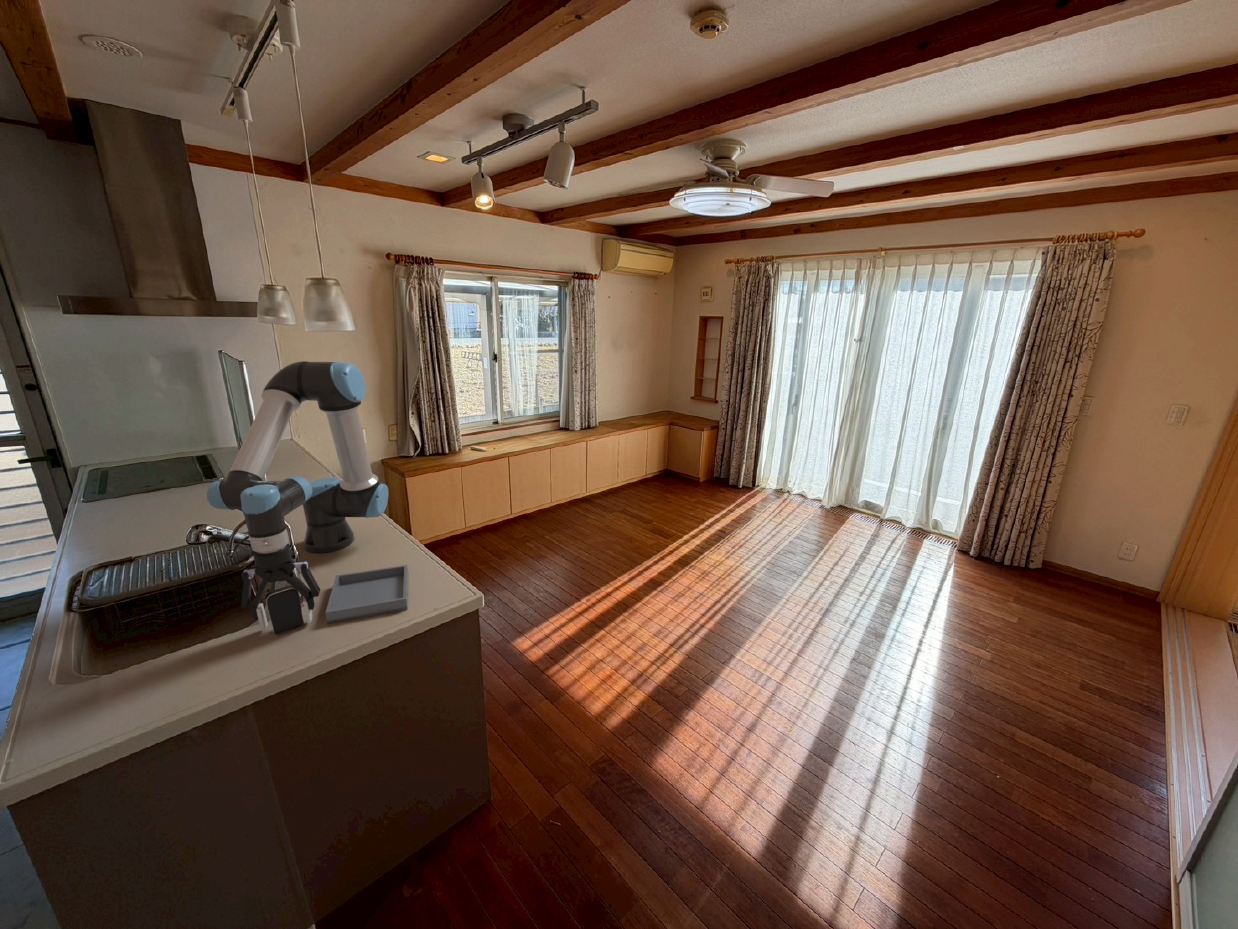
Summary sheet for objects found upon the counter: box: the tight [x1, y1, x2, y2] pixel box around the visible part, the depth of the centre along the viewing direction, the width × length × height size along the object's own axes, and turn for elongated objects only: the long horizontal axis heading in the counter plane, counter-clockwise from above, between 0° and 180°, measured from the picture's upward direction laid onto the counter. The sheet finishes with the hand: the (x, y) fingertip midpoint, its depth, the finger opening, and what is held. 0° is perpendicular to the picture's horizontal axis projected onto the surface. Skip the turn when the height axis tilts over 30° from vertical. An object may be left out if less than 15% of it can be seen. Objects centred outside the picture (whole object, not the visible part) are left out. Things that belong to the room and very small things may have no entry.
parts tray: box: [325, 564, 409, 625], centre depth 140 cm, size 20×20×4 cm
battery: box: [264, 585, 305, 636], centre depth 125 cm, size 7×4×11 cm, turn 135°
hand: (287, 623), depth 126 cm, fingers open, 9 cm apart
